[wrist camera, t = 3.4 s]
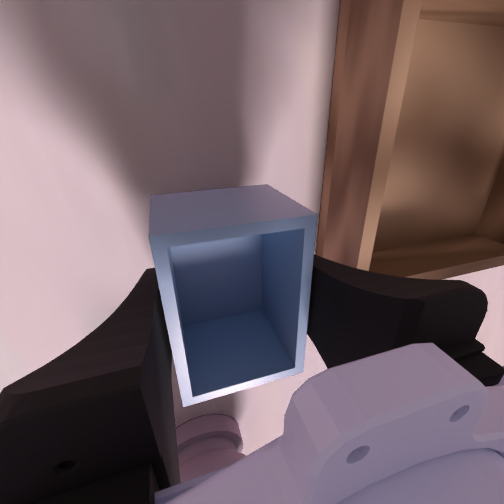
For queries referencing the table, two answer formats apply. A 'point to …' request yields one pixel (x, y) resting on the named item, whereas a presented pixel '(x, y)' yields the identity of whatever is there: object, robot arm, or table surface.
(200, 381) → the blue crate
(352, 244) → the tray
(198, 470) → the grey rounded bulbous piece
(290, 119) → the table surface
